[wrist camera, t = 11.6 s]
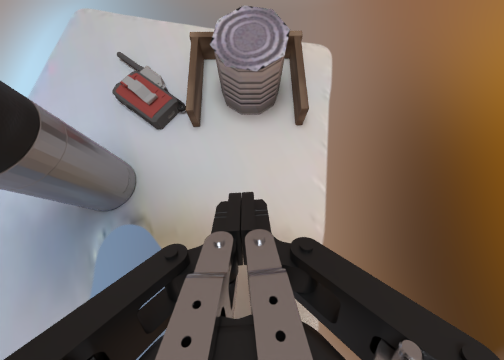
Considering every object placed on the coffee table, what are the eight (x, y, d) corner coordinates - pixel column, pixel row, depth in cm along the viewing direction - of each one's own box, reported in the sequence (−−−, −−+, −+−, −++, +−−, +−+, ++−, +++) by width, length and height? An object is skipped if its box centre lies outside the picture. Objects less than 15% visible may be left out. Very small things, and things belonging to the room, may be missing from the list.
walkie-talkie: (195, 104, 41) (125, 56, 45) (189, 88, 37) (112, 36, 41) (164, 136, 39) (93, 82, 43) (154, 123, 35) (76, 65, 39)
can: (290, 96, 42) (305, 39, 30) (244, 126, 40) (241, 78, 28) (255, 59, 44) (257, -5, 33) (210, 86, 42) (195, 27, 31)
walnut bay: (191, 126, 39) (183, 110, 35) (196, 54, 44) (189, 32, 40) (304, 124, 40) (311, 108, 35) (296, 53, 45) (301, 30, 40)
